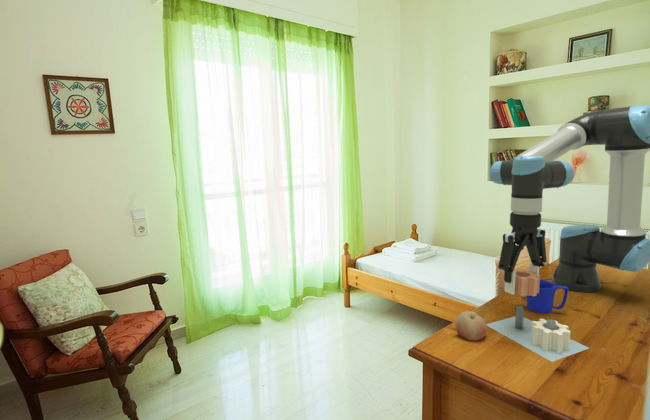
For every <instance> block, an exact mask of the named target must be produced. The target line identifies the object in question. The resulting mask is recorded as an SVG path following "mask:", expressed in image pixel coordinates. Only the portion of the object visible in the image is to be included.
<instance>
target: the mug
mask: <svg viewBox="0 0 650 420" xmlns="http://www.w3.org/2000/svg"><path fill="white" fill-rule="evenodd" d="M560 289H561V290H564V292H563V293H564V294H563V298H562V301H561V303H560V304H559V305H558V306H554V299H555V294H556V292H557V290H560ZM568 294H569V290H568V287H565V286H557V285H555V284H554V283H553V282H552V281H549V280H545V279H540V285H539V293H537V296H534V297H533V296H531V295H529V296H525V299H526V309H528V311H529V310H530V311H531V312H534V313H537V314H551V313H552V311H553V309H555V310H561V309H563V308H564V307H565V304H566V302H567V298H568Z"/></svg>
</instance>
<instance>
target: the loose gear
mask: <svg viewBox="0 0 650 420" xmlns="http://www.w3.org/2000/svg"><path fill="white" fill-rule="evenodd" d="M513 271H514V272H516V277H515V294H514V295H517V296H518V295H519V296H520V297H525V298H526V296H529V295H531V296H533V297H534V296H537V293H539V285H540V280H541V274H540V275H535V272H533V271H529V270H524V269H522V268H518V269H514V270H513ZM504 289H505V286H504Z"/></svg>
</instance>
